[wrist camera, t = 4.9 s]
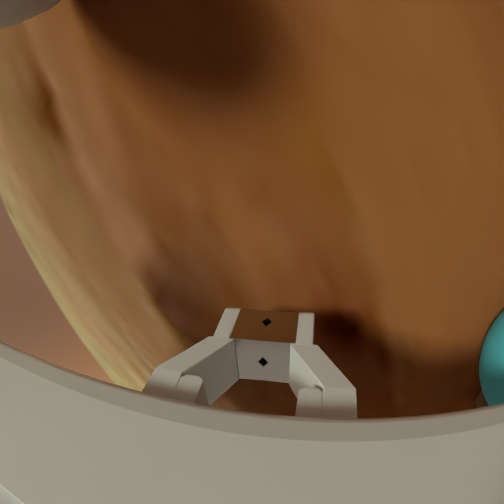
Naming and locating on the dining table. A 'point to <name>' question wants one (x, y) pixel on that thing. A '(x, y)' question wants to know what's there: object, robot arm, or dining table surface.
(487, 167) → the dining table surface
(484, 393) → the ball
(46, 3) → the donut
